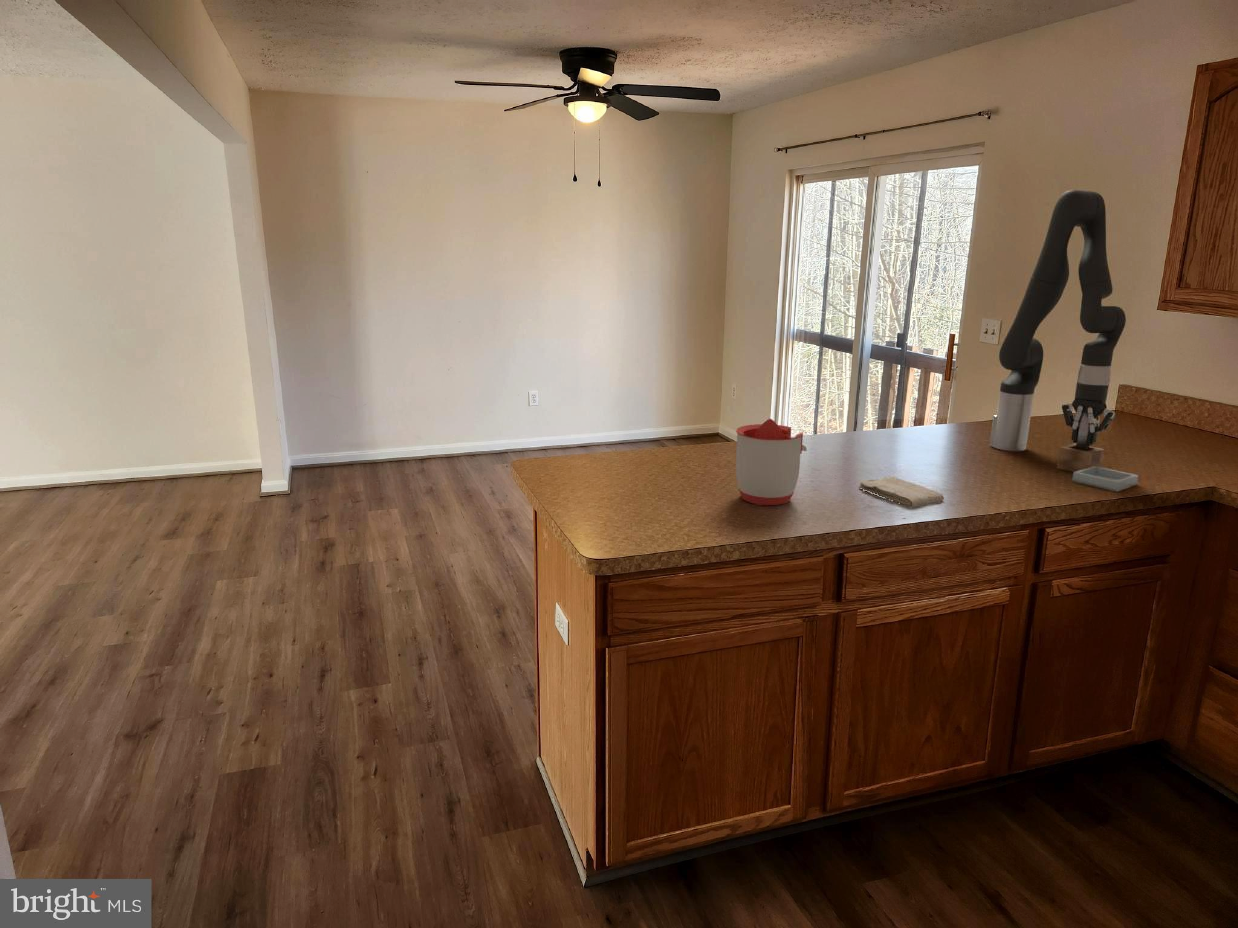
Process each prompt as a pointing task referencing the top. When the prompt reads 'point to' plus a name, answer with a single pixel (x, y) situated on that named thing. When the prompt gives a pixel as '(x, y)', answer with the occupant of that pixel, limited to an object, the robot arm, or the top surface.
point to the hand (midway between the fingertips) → (1083, 443)
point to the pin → (1083, 433)
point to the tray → (1105, 478)
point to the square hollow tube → (1079, 458)
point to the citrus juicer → (767, 462)
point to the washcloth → (902, 491)
